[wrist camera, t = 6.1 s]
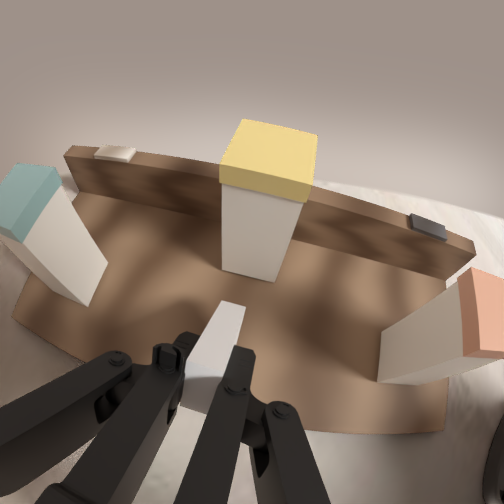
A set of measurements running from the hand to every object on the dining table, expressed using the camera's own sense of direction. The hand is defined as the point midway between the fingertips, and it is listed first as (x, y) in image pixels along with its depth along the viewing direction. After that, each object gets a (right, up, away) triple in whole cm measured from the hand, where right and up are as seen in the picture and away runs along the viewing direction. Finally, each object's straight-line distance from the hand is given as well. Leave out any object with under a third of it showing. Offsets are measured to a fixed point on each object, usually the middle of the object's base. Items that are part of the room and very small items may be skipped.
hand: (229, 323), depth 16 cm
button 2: (-12, +2, +3) cm, 13 cm away
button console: (0, 0, +4) cm, 4 cm away
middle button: (+2, +4, +5) cm, 7 cm away
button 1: (+13, -4, +2) cm, 14 cm away
